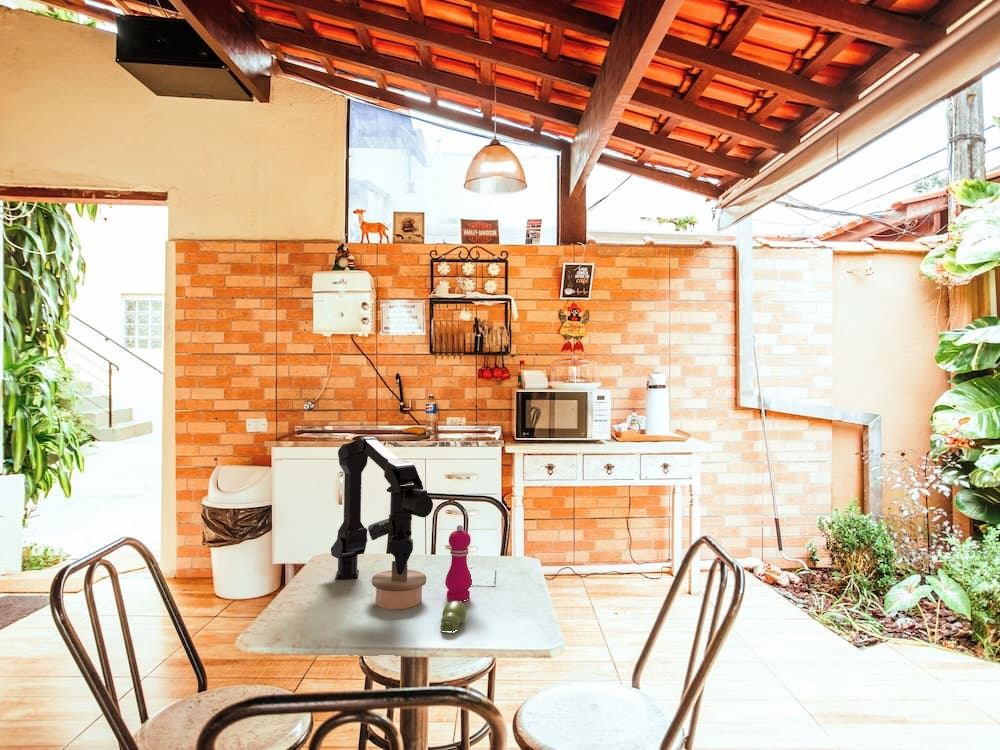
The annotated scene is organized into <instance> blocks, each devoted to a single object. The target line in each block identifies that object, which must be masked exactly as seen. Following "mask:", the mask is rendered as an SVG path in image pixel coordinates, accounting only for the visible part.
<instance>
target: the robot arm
mask: <svg viewBox="0 0 1000 750" xmlns="http://www.w3.org/2000/svg"><path fill="white" fill-rule="evenodd" d="M337 451H338V452H337V456H338V463H339V464H338V465H339V466H340V468H341V470H342V471H343V473H344V481H343V482H344V483H343V484H344V488H343V490H344V491H343V522H342V524H341V525H340V526H339V529H338V531H337V536H336V537H337V538H336V540H335V541H334V543H333V545H332V546H331V547H330V554H331V556H332V557H334V558H336V559H337V570H336V574H335V576H334V578H335V580H340V579H341V580H344V579H358V578H359V573H360V570H359V569H358V560H359V559H358V556H359V555H364V554H365V553H366V552H365V551H366V547H367V542H368V533H369V536H370V539H371V541H375V540H377V539H379V538H381V537H384V536H386V535H388V553H389V554H391V555H392V556H393V557H394V561H395V562H396V568H397V574H398V575H401V574H402V573H403V570H404V568H405V566H406V563H407V564H408V561H409V559H410V556H411V555H412V553H413V550H414V540H413V539H412V521H413V520H412V519H413V516H416V517H419V518H426V517H428V516H430V514H431V513H432V511H433V508H434V502H433V500H432V498H431V496H430V495H428V490H426V489H424V485H423V481H422V479H421V478H420V475H419V473H418V470H417V468H416V466H415V464H414V463H412V462H410V461H408V460H407V459H406V460H405V459H402V458H400V457H399V458H398V457H397V456H395V454H393V453H392V452H391V451H390V450H389V449H388V448H386V447H385V446H384V445H383V444H382V443H380V441H379V439H378V438H377V437H374V436H362V437H359V438H357V439H356V440H354V441H352V442H348V443H343V444H342V445H341V446H340V447H339V449H338V450H337ZM368 458H370V459H371V460H372V461H373V462H374V463H375V464H376V465H377V466H378V467H380V468H381V469H382V470H383V475H384V476H383V477H384V478H385V480H386V481H387V482H388V484H389V487H387V488H386V492H388V493H390V501H389V502H390V503H389V504H390V505H389V507H390V508H389V514H388V518H387V519H386V518H385V519H383V520H379V521H377V522H375V523H371V524H370V525H368V527H365V526H364V525H363V523H362V520H361V519H362V518H361V517H362V473H363V472H364V470H365V468H366V467H367V465H368V460H369V459H368Z"/></svg>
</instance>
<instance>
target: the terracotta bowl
mask: <svg viewBox="0 0 1000 750" xmlns="http://www.w3.org/2000/svg"><path fill="white" fill-rule="evenodd" d="M375 588H376V587H375ZM422 594H423V586H422V587H420V588H417V589H413V590H408V591H386V590H381V589H378V588H376V589H375V605H377V606H379V607H380V608H383V609H388V610H389V609H390V610H406V609H409V607H410V608H413V606H414V607H417V606H418V605H419V604H421V603H422V600H423V599H422V597H423V596H422ZM420 602H421V603H420ZM417 604H418V605H417ZM416 605H417V606H416Z"/></svg>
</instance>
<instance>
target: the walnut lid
mask: <svg viewBox="0 0 1000 750" xmlns="http://www.w3.org/2000/svg"><path fill="white" fill-rule="evenodd" d="M426 583H427V576H426V574H425V573H422V572H421V571H417V570H412V569H408V562H407V563H406V566H405V568H404V570H403V573H402V574H401V575H398V574H397V568H396V562H395V560H393V561H391V569H390V570H389V569H388V570H385V571H381V572H379V573H378V572H377V573H376V574H375V575H373V576H372V578H371V585H372V586H373V587H374V588H378V589H381V590H386V591H408V590H413V589H417V588H420V587H422V588H423V586H425V585H426Z"/></svg>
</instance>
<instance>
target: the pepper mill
mask: <svg viewBox="0 0 1000 750" xmlns="http://www.w3.org/2000/svg"><path fill="white" fill-rule="evenodd" d="M471 541H472V540H471V535H470V534H469V533H468V532H467V531H466V530H464V526H463V525H462V524H458V525H457V526H456V530H453V531H452V532H451V533H450V535H449V536H448V544H449V546H450V547H451V548H450V549H449V550H450V552H449V554H450V555H451V562H450V568H449V570H448V572H447V574H446V576H445V581H444V582H445V583H444V585H445V587H446V589H448V590H447V591H446V599H447V600H448V601H449V600H451V601H464V600H467V599H469V600H470V598H471V595H470V594H471V592H470V588H471V587H472V586H471V585H472V579H471V574H470V568H469V566H468V564H467V560H468V559H467V557H468V555H469V551H470V549H469V547H470V545H471ZM451 601H450V602H451ZM467 601H468V600H467ZM464 602H465V601H464Z"/></svg>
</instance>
